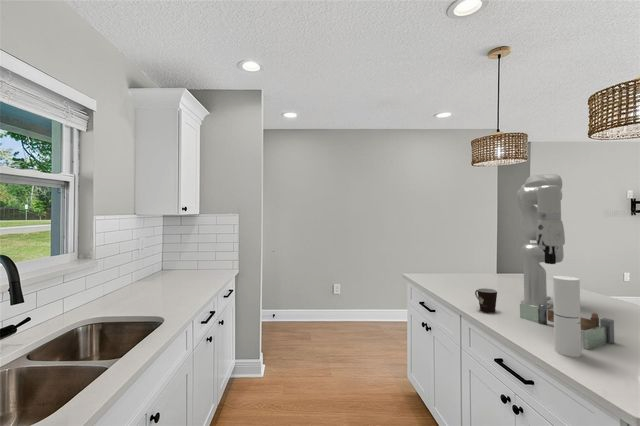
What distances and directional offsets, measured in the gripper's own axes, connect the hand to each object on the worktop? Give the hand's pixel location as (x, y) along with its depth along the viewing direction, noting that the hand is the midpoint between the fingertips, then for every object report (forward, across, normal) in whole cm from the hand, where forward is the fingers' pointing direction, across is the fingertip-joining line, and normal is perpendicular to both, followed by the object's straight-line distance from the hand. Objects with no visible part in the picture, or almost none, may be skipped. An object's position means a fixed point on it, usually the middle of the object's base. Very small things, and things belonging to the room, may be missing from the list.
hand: (550, 263), depth 127 cm
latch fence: (+27, +3, -14) cm, 31 cm away
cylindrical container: (+27, -13, -14) cm, 33 cm away
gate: (+27, +8, -2) cm, 28 cm away
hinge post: (+27, +7, +13) cm, 31 cm away
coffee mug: (+27, +1, +32) cm, 42 cm away
